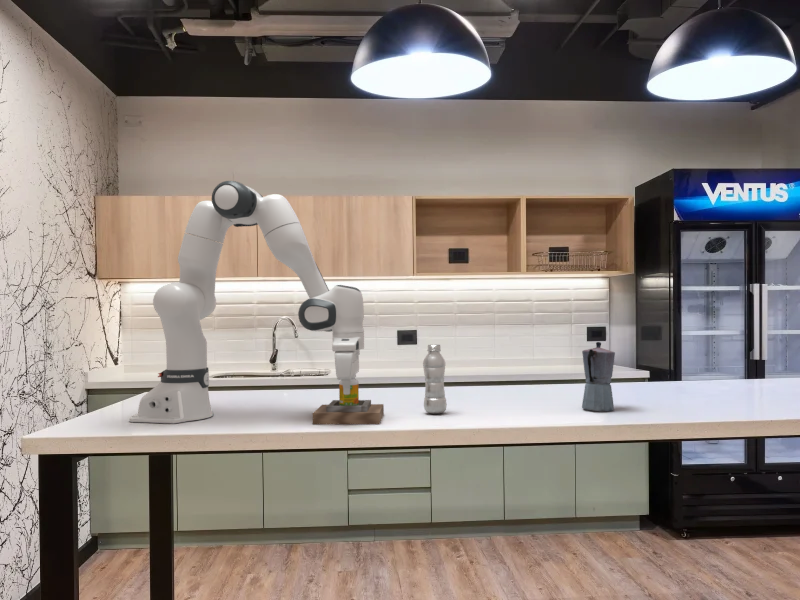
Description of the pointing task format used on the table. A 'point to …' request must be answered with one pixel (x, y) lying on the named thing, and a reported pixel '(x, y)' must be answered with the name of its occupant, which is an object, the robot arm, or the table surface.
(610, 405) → the moka pot
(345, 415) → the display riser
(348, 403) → the supplement bottle
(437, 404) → the plastic bottle
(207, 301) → the robot arm
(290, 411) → the table surface
